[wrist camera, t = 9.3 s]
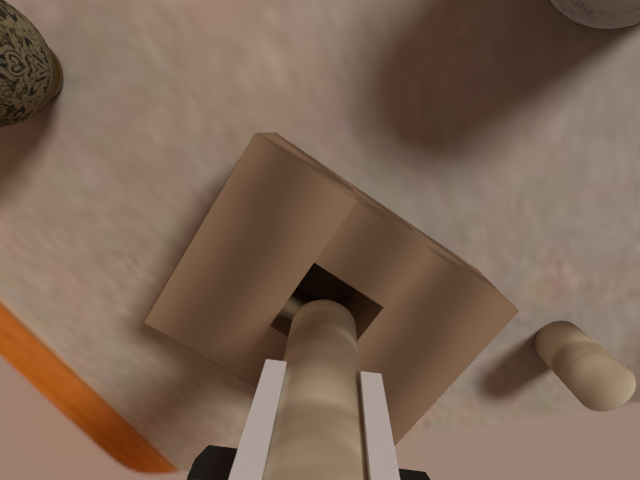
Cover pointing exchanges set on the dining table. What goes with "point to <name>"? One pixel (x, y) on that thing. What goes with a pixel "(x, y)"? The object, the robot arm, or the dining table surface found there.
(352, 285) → the hole block
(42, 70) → the olive hollow patterned container
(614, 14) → the speckled white tub
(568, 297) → the dining table surface
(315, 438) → the long pin
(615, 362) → the short pin
